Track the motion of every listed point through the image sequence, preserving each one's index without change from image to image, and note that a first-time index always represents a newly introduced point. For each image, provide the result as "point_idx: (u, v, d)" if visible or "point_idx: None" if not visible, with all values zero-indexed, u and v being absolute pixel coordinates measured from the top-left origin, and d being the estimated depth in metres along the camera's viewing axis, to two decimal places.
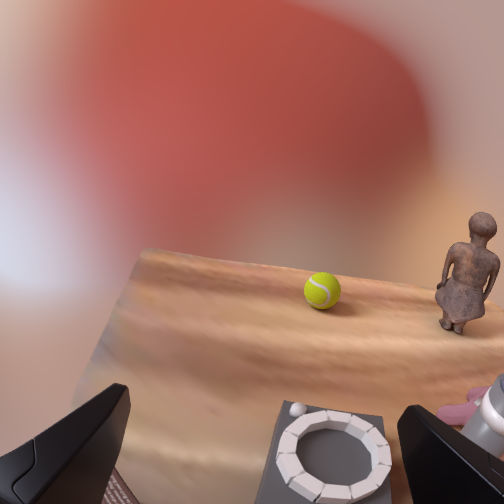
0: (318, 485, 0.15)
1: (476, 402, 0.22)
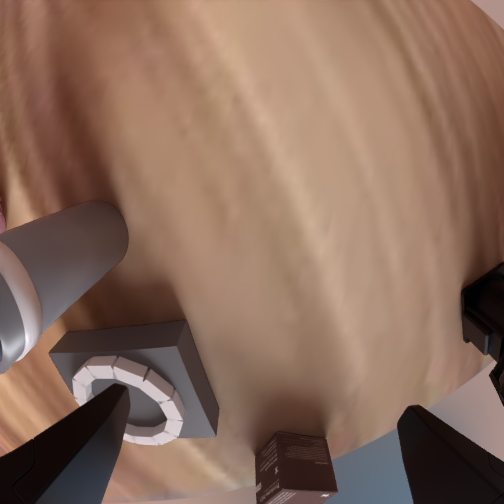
0: (172, 423, 0.19)
1: None
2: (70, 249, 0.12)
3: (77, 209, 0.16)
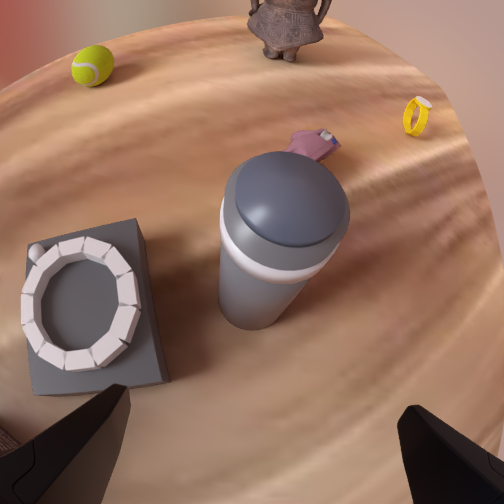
0: (59, 356, 0.15)
1: None
2: (289, 299, 0.16)
3: None
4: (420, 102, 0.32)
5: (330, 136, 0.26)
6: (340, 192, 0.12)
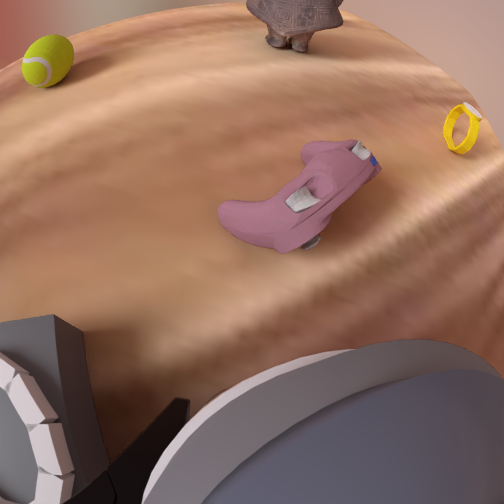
0: None
1: (291, 202, 0.13)
2: None
3: None
4: (470, 111, 0.22)
5: (368, 153, 0.16)
6: None
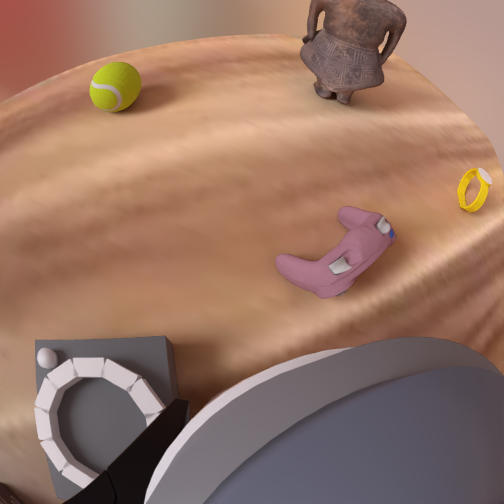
0: (86, 481, 0.11)
1: (332, 267, 0.20)
2: None
3: None
4: (482, 177, 0.28)
5: (388, 228, 0.22)
6: None
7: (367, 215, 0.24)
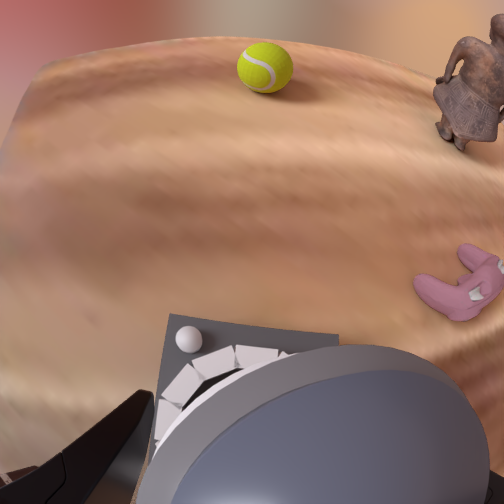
0: None
1: (471, 294, 0.18)
2: None
3: None
4: None
5: None
6: (483, 474, 0.02)
7: (487, 255, 0.21)
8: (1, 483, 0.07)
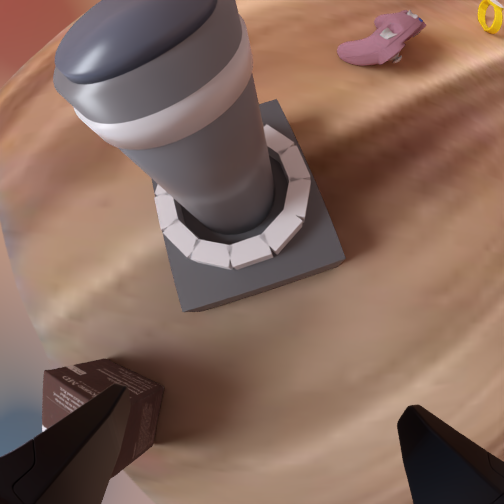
0: (222, 252, 0.16)
1: (383, 35, 0.17)
2: (248, 162, 0.11)
3: None
4: (493, 2, 0.16)
5: (416, 16, 0.17)
6: None
7: None
8: (67, 370, 0.16)
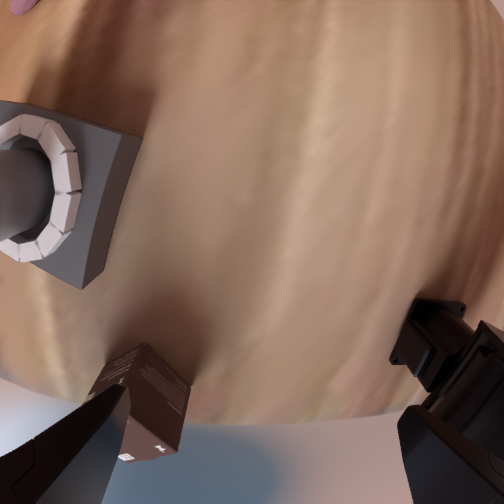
0: (50, 231, 0.14)
1: None
2: None
3: (4, 151, 0.11)
4: None
5: None
6: None
7: None
8: None
